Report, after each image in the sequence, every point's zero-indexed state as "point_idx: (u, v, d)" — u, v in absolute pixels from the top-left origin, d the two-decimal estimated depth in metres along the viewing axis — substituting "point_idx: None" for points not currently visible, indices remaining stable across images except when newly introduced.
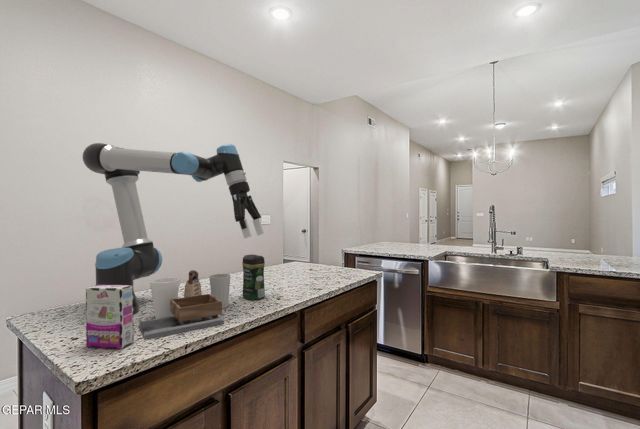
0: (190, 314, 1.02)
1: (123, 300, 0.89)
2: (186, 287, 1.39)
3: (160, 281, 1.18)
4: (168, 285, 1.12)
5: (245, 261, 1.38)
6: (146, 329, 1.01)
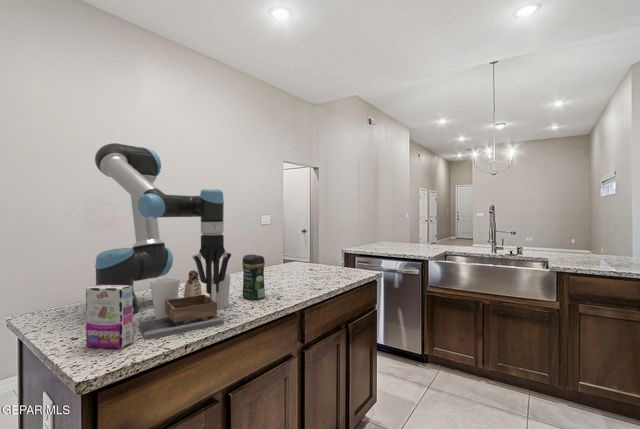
0: (184, 315, 1.01)
1: (123, 300, 0.89)
2: (186, 287, 1.39)
3: (160, 281, 1.18)
4: (168, 285, 1.12)
5: (245, 261, 1.38)
6: (146, 329, 1.01)
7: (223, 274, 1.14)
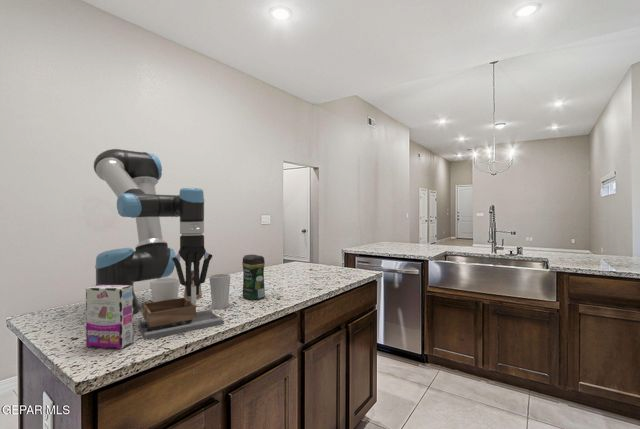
0: (161, 319, 0.97)
1: (123, 300, 0.89)
2: None
3: (160, 281, 1.18)
4: (168, 285, 1.12)
5: (245, 261, 1.38)
6: (146, 329, 1.01)
7: (204, 276, 1.10)
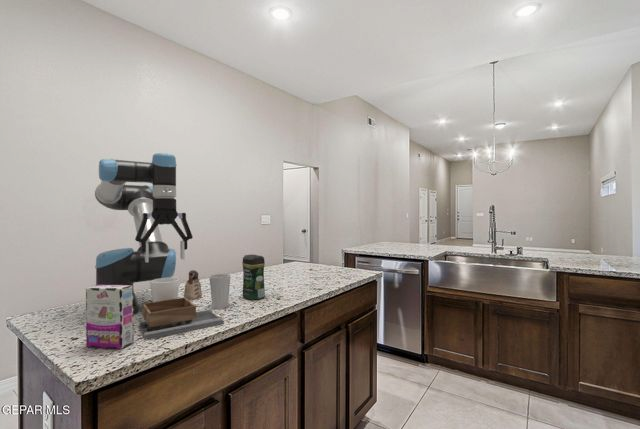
0: (161, 319, 0.97)
1: (123, 300, 0.89)
2: (186, 287, 1.39)
3: (160, 281, 1.18)
4: (168, 285, 1.12)
5: (245, 261, 1.38)
6: (146, 329, 1.01)
7: (189, 232, 1.19)
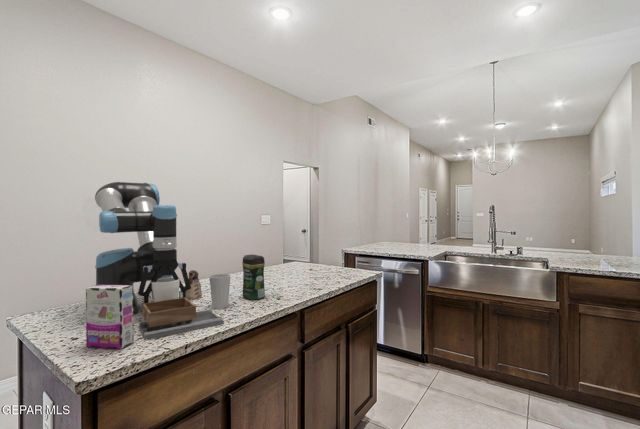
0: (161, 319, 0.97)
1: (123, 300, 0.89)
2: None
3: (160, 281, 1.18)
4: (168, 285, 1.12)
5: (245, 261, 1.38)
6: (146, 329, 1.01)
7: (188, 283, 1.19)
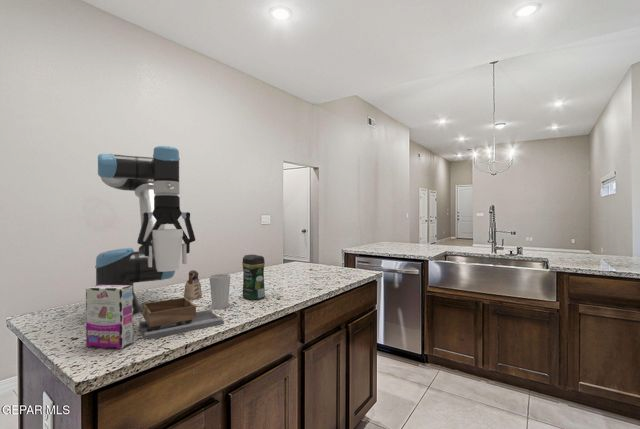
0: (161, 319, 0.97)
1: (123, 300, 0.89)
2: (186, 287, 1.39)
3: None
4: (171, 233, 1.01)
5: (245, 261, 1.38)
6: (146, 329, 1.01)
7: (192, 234, 1.08)
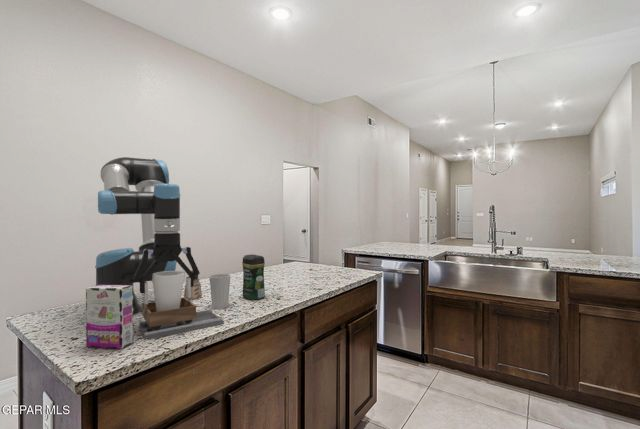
0: (161, 319, 0.97)
1: (123, 300, 0.89)
2: None
3: (163, 274, 1.07)
4: (172, 279, 1.01)
5: (245, 261, 1.38)
6: (146, 329, 1.01)
7: (195, 268, 1.08)
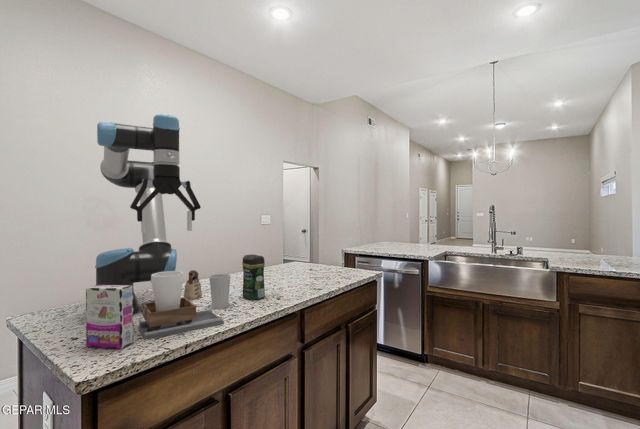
0: (161, 319, 0.97)
1: (123, 300, 0.89)
2: (186, 287, 1.39)
3: (162, 275, 1.07)
4: (171, 279, 1.01)
5: (245, 261, 1.38)
6: (146, 329, 1.01)
7: (196, 202, 1.08)
